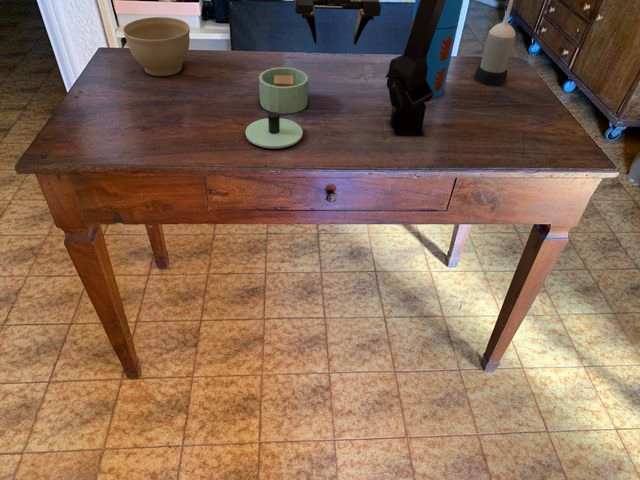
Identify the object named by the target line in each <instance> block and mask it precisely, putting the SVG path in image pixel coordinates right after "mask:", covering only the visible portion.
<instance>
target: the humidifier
mask: <svg viewBox="0 0 640 480" xmlns="http://www.w3.org/2000/svg"><path fill="white" fill-rule="evenodd" d="M513 2H514V0H509V1H508V4H507V8H506V12H505V15H504V18H503V20H502V21H501V22H499V23H497V24H495V25H494V26H493V27H492V28H490V29H489V30H488V31H489V32H488V34H487V38H486V41H485V46H484V49H483V53H482V57H481V61H480V64H478V65H477V68H476V70H475V74H474V80H475V81H476V82H478V83H480V84H482V85H486V86H491V87H493V86H495V87H496V86H502V85H504V84H505V83H506V80H507V77H508V69H507V68H508V64H509V61H510V57H511V54H512V50H513V47H514V43H515V41H516V31H515V29H514V28H513V26H512V25H511V24H509V18H510V13H511V11H512V8H513V5H514V4H513Z"/></svg>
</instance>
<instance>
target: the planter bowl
mask: <svg viewBox="0 0 640 480" xmlns="http://www.w3.org/2000/svg"><path fill="white" fill-rule="evenodd" d="M190 30H191V29H190V24H189V23H188V22H186V21H184V20H182V19H179V18H176V17H175V18H174V17H167V16H151V17H144V18H140V19H136V20H132V21H129V22H128V23H126V24H125V26H124V27H123V28H122V33H123V35H124V37H125V41H126V44H127V46H128V49H129V51H130V53H131V55H132V56H133V57H134V59H135V60H136V61H137V63H139V65H141V66H142V68H143V69H144V71H145V73H146V74H149V75H150V76H154V77H167V76H173V75H176V74H178V73H179V72H181V71H182V68H183V64H184V62H185V60H186V58H187V56H188V53H189V49H190V42H191V41H190V40H191V39H190V32H191V31H190Z"/></svg>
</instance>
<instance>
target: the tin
mask: <svg viewBox="0 0 640 480" xmlns="http://www.w3.org/2000/svg"><path fill="white" fill-rule="evenodd" d="M274 75H285V76H293V82H294V86H289V87H279V86H274ZM258 84H259V85H258V87H259V90H258V91H259V103H260V106H261V107H262V109H264V110H266V111H268V112H269V113H271V112H277V113H279V115H280V114H283V115H287V114H294V113H298V112H301V111H303V110H305V109H306V107H307V106H308V100H309V99H308V97H309V75H308V74H307V73H306V72H305V71H303V70H301V69H298V68H294V67H281V66H280V67H273V68H268V69H266V70H264V71H262V72H261V73H259V75H258Z"/></svg>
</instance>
